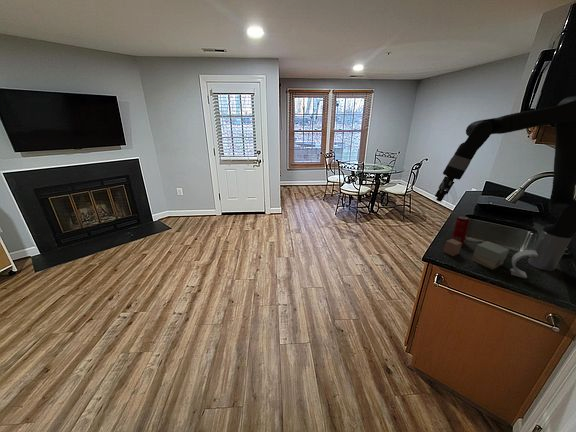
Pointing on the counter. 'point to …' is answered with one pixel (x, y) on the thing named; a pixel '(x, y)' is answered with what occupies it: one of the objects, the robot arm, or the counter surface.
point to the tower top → (491, 251)
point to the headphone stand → (518, 256)
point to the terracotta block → (452, 247)
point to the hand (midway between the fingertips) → (437, 199)
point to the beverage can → (460, 228)
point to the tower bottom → (486, 261)
